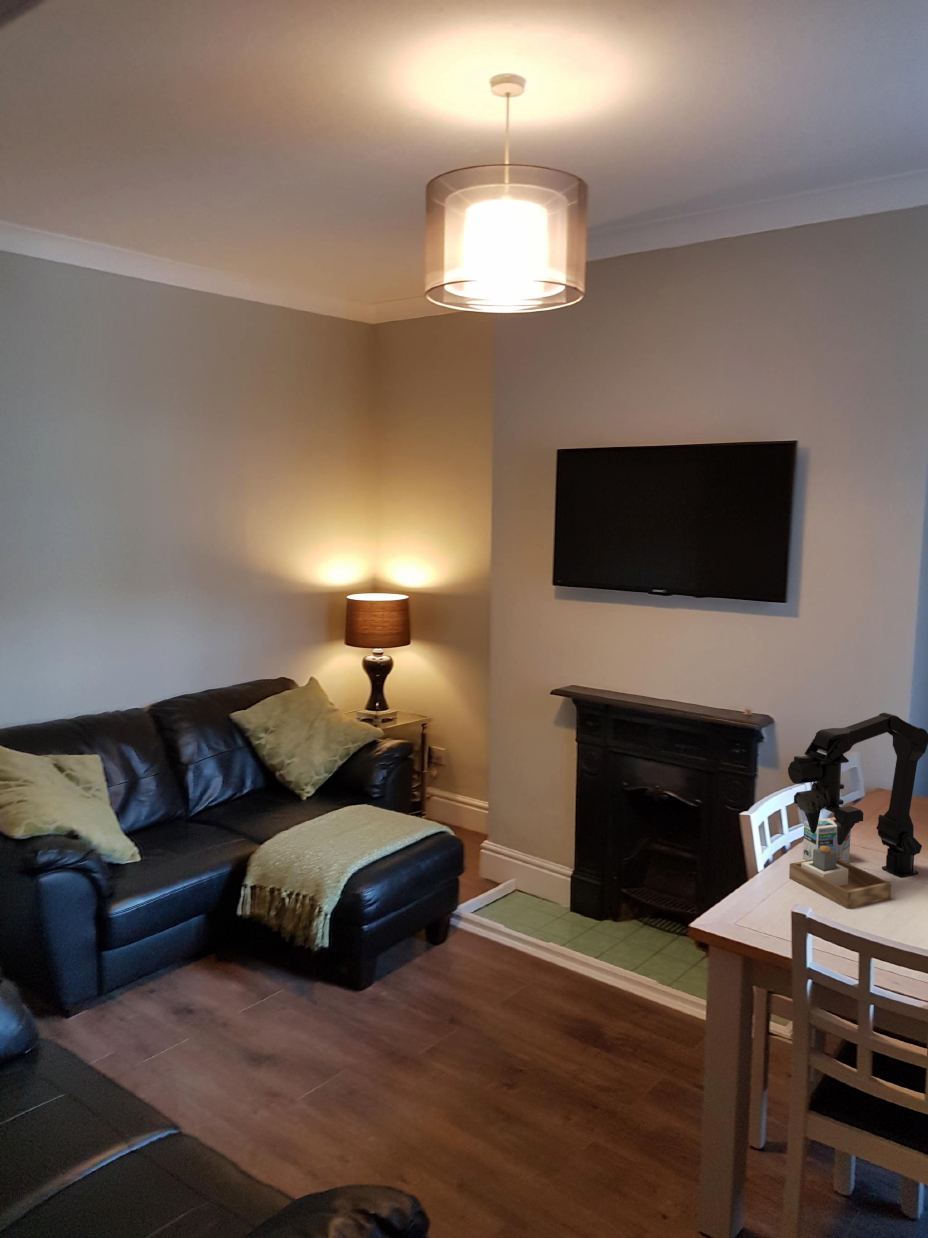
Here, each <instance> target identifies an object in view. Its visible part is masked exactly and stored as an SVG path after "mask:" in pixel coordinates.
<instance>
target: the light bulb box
mask: <svg viewBox="0 0 928 1238" xmlns="http://www.w3.org/2000/svg"><path fill="white" fill-rule="evenodd" d="M833 820H836V819H835V817H834V816H833V817H828V818H819V821H818V826H817V830H816V833H811V830H810V827H809V824H808V820H804V821H803V839H802V840H803V842H802V843H803V846H802V848H803V849H802V858H803V859H804V860H805V861H806V860H812V859H813V850H814V849H820V846H828V847H830V850H832V851H834V852H837V859H840V860H842V861H844V862H846V863H848V864H850V852H851V851H850V849H851V832H852V829H851V830H850V832H849V833H848V835H847V837H846V838H845V840H844V842H843V844H842V845H838V842H837V825H836V824H835V822H834V821H833Z"/></svg>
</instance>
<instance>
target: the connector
mask: <svg viewBox="0 0 928 1238" xmlns="http://www.w3.org/2000/svg"><path fill="white" fill-rule="evenodd" d="M836 864H837V852H834V851H832V850H830V847H828V846H820V849H814V850H813V866H814V867H816V868H818V869H820V870H822V871H824V872H825V871H830V870H835V869H836Z"/></svg>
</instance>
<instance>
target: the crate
mask: <svg viewBox="0 0 928 1238" xmlns="http://www.w3.org/2000/svg"><path fill="white" fill-rule="evenodd" d="M809 861H813V859H812V860H806V859H805V860H803V861H797V862H791V863H789V871H788V872H789V873H788V874H789V875H788V876H789V880H791V881H793V882H796V883H797V884H799V885H801V886H803V887H805V888H807V889H809V890H811V891H813V892H815V893H817V894H818V895H821V896H822V897H824V898H826V899H828V900H830V901H831V902H833V903H836V904H838V905H840V906H842V907H843V908H845V909H851V908H855V907H860V906H866V905H870V904H873V903H878V902H882V901H887V900H891V899H892V882H890V881H887V880H886V879H883V878H881V877H878V876H876V875H874V874H871V873H870V872H867V871H865V870H864V869H862V868H860V867H859V868H858V867H856V866H854V865H852V864H850V863H846V862H844V861H842V860H840V859H837V864H838V865H840V866H843V867H845V868H847V869H848V884H846V885H841V886H838V885H836V884H834V883H832V882H830V881H828V880H826V879H824V878H822V877H820V876H818V875H816V874H814V873H812V872H810V871H808V870H806V869H804V868H802V867H801V863H804V862H809Z"/></svg>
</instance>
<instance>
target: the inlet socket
mask: <svg viewBox="0 0 928 1238" xmlns="http://www.w3.org/2000/svg"><path fill="white" fill-rule="evenodd" d="M801 867H802V868H804V869H806V870H808V871H810V872H812V873H814V874H816V875H818V876H820V877H822V878H824V879H826V880H828V881H830V882H832V883H834V884H836V885H838V886H841V885H846V884H848V869H847V868H845V867H843V866H840V865H838V864H836V869H835V870H830V871H825V872H824V871H822V870H820V869H818V868H816V867H814V866H813V861H809V862H804V863H801Z"/></svg>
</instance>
